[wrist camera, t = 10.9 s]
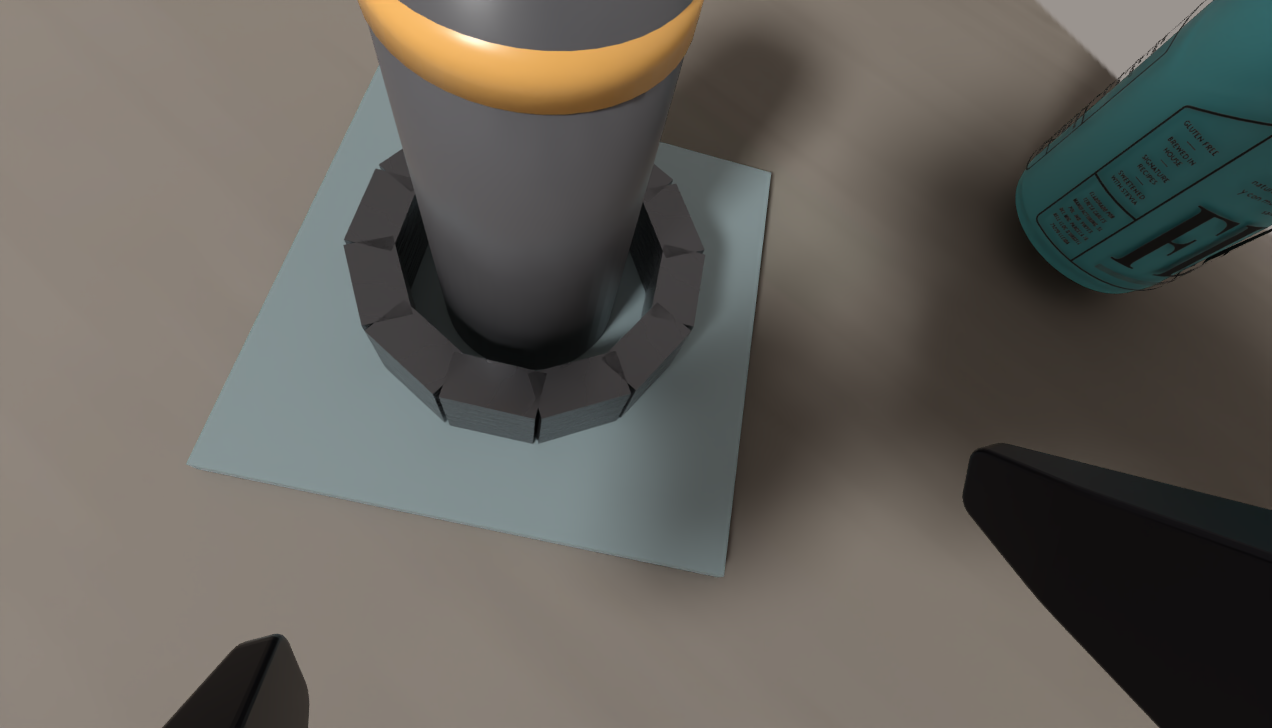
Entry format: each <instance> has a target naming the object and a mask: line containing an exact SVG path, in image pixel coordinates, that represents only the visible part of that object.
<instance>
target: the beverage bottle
mask: <svg viewBox="0 0 1272 728" xmlns="http://www.w3.org/2000/svg"><path fill="white" fill-rule="evenodd" d="M1201 4H1202V3H1201ZM1201 4H1200V5H1201ZM1196 10H1197V9H1196ZM1196 10H1194V11H1196ZM1193 13H1194V12H1193ZM1193 13H1192V14H1193ZM1188 19H1189V18H1188ZM1188 19H1187V20H1188ZM1184 20H1185V19H1184ZM1187 20H1186V21H1187ZM1186 21H1185V23H1186ZM1185 23H1184V24H1185ZM1184 24H1183V26H1184ZM1183 26H1182V27H1181V28H1180V30H1179V31H1178V32H1177V33H1176V34H1174V35H1173V36H1172V37H1171V38H1170V39H1169V40H1168V41H1166V42H1165V43H1164V44H1163V45H1162V46H1161V47H1160V48H1159V49H1158V50H1156V49H1155V48H1154V49H1155V50H1154V51H1152V52H1153V54H1151V56H1149V57H1148V58H1147V59H1146V60H1145V61H1144V62H1143V63H1142V64H1140V65H1139V66H1138V67H1137V68H1136V69H1135V70H1134V69H1133V67H1135V66H1133V67H1132V69H1133V70H1134V71H1133V70H1132V72H1131V71H1130V72H1131V73H1129V75H1128V76H1127V77H1126V78H1124V79H1123V80H1122V81H1121V82H1120V83H1119V81H1120V80H1117V82H1116V83H1117V84H1116V85H1115V87H1114V88H1113V89H1112V90H1111V91H1110V92H1109V93H1107V94H1106V92H1107V91H1106V92H1104V91H1105V90H1104V91H1103V92H1104V94H1103V96H1104V97H1102V98H1101V100H1099V101H1098V102H1097V103H1096V104H1095V105H1094V106H1092V107H1091V108H1090V109H1089V110H1088V111H1087V112H1086V110H1087V108H1088V106H1089V105H1088V106H1085V108H1086V110H1085V112H1084V114H1083V115H1082V116H1081V117H1080V118H1079V119H1078V117H1079V115H1080V113H1081V111H1082V110H1083V109H1085V108H1083V109H1082V110H1081V111H1080V113H1079V114H1076V115H1075V116H1074V117H1076V116H1077V118H1076V119H1077V120H1075V121H1076V122H1074V123H1073V124H1072V125H1071V126H1070V125H1068V127H1069V126H1070V127H1069V128H1068V127H1067V129H1066V130H1065V128H1066V127H1065V128H1064V129H1063V131H1062V134H1061V135H1060V136H1059V137H1057V138H1056V139H1053V140H1054V141H1053V140H1052V138H1053V137H1052V138H1050V139H1051V140H1050V139H1049V140H1050V141H1049V140H1048V142H1049V144H1048V146H1047V147H1046V148H1045V149H1044V150H1043V151H1041V152H1040V150H1041V148H1040V149H1039V152H1040V153H1039V152H1037V154H1038V153H1039V154H1038V155H1037V154H1036V155H1037V156H1036V157H1035V158H1034V159H1033V160H1032V161H1031V162H1030V163H1029V161H1030V159H1031V157H1032V156H1031V157H1030V159H1029V161H1028V163H1027V167H1026V170H1025V171H1024V172H1023V174H1022V176H1021V178H1020V180H1019V182H1018V185H1017V188H1016V208H1017V213H1018V217H1019V220H1020V223H1021V225H1022V227H1023V229H1024V231H1025V233H1026V235H1027V237H1028V238H1029V240H1030V241H1031V243H1032V244H1033V246H1034V247H1035V248H1036V250H1037V251H1038V252H1039V253H1040V254H1041V255H1042V256H1043V258H1044V259H1045V260H1046V261H1047V262H1048V263H1050V264H1051V265H1052V266H1053V267H1054V268H1055V269H1056V270H1058V271H1059V272H1060V273H1062V274H1063V275H1064V276H1066V277H1068V278H1069V279H1071V280H1072V281H1074V282H1076V283H1078V284H1080V285H1082V286H1084V287H1087V288H1089V289H1092V290H1095V291H1099V292H1103V293H1110V294H1120V293H1128V292H1132V291H1145V290H1140V289H1144V288H1148V287H1151V286H1153V285H1156V284H1158V285H1161V284H1165V283H1167V284H1168V282H1172V280H1171V281H1166V282H1161V281H1163V280H1165V279H1167V278H1169V277H1173V276H1176V277H1177V276H1180V277H1182V276H1183V275H1185V274H1187V273H1188V272H1189V273H1190V271H1188V272H1186V273H1183V274H1179V273H1180V272H1181V271H1183V270H1185V269H1187V268H1189V267H1190V266H1193V265H1195V264H1196V263H1198V262H1200V261H1202V260H1204V259H1206V258H1207V259H1206V260H1205V261H1204V263H1205V262H1207V261H1208V260H1211V259H1213V258H1215V257H1218V256H1220V255H1222V254H1224V253H1225V254H1227V253H1228V252H1229V251H1231V250H1233V249H1235V248H1237V247H1239V246H1241V245H1243V244H1245V243H1247V244H1248V242H1249V243H1250V241H1251V242H1252V240H1253V241H1254V239H1255V240H1256V238H1257V239H1258V237H1259V238H1260V236H1261V237H1262V235H1265V234H1267V233H1269V232H1271V231H1272V229H1270V230H1268V231H1265V232H1263V233H1261V234H1258V235H1256V236H1254V237H1252V238H1249V239H1247V240H1245V241H1243V242H1240V241H1242V240H1244V239H1246V238H1248V237H1250V236H1252V235H1253V234H1255V233H1257V232H1259V231H1261V230H1263V229H1266V228H1268V227H1269V226H1271V225H1272V0H1213V1H1212V2H1211V3H1210V4H1209V5H1207V6H1206V7H1205V8H1204V9H1203V10H1202V11H1201V12H1200V13H1198V14H1197V15H1196V16H1195V17H1194V18H1193V19H1192V20H1190V21H1189V22H1188V23H1187V24H1186V25H1185V26H1184V27H1183ZM1166 36H1167V35H1166ZM1166 36H1165V37H1166ZM1164 40H1165V38H1164ZM1159 42H1160V41H1159ZM1161 43H1162V42H1161ZM1156 45H1157V44H1156ZM1156 47H1157V46H1156ZM1148 52H1149V51H1148ZM1147 55H1148V54H1147ZM1142 58H1143V57H1142ZM1142 58H1140V59H1142ZM1138 60H1139V59H1138ZM1140 61H1141V60H1140ZM1140 61H1139V63H1140ZM1136 63H1137V62H1136ZM1123 74H1124V73H1123ZM1123 74H1122V75H1123ZM1122 75H1121V76H1122ZM1121 76H1120V77H1121ZM1114 82H1115V81H1114ZM1114 82H1113V83H1114ZM1113 83H1112V84H1113ZM1118 83H1119V84H1118ZM1112 84H1110V85H1111V86H1112ZM1110 88H1111V87H1110ZM1106 90H1108V87H1107V89H1106ZM1103 92H1102V93H1103ZM1099 95H1100V94H1099ZM1099 95H1098V96H1099ZM1095 99H1096V98H1095ZM1095 99H1094V100H1095ZM1094 100H1093V101H1094ZM1091 102H1092V101H1091ZM1091 102H1090V103H1091ZM1073 119H1074V118H1073ZM1073 119H1072V120H1073ZM1069 122H1070V121H1069ZM1069 122H1068V123H1069ZM1068 123H1067V124H1068ZM1071 123H1072V121H1071V122H1070V123H1069V124H1071ZM1067 124H1066V125H1064V126H1067ZM1064 126H1063V127H1064ZM1061 130H1062V129H1061ZM1061 130H1059V131H1058V132H1056V133H1060V132H1061ZM1064 130H1065V131H1064ZM1056 133H1055V134H1056ZM1055 134H1054V135H1055ZM1058 135H1059V134H1058ZM1058 135H1057V136H1058ZM1051 141H1053V142H1052V143H1051V144H1050V142H1051ZM1046 143H1047V141H1046ZM1043 145H1044V144H1043ZM1043 145H1042V146H1043ZM1040 147H1041V146H1040ZM1034 153H1035V152H1034ZM1034 153H1033V154H1034ZM1238 242H1240V243H1238ZM1236 243H1238V244H1236ZM1234 244H1236V245H1234ZM1232 245H1234V246H1232ZM1245 245H1246V244H1245ZM1230 246H1231V247H1230ZM1243 246H1244V245H1243ZM1228 247H1229V248H1228ZM1241 247H1242V246H1241ZM1226 248H1227V249H1226ZM1239 248H1240V247H1239ZM1224 249H1225V250H1224ZM1237 249H1238V248H1237ZM1235 250H1236V249H1235ZM1233 251H1234V250H1233ZM1231 252H1232V251H1231ZM1229 253H1230V252H1229ZM1225 254H1224V255H1225ZM1221 257H1222V256H1221ZM1219 258H1220V257H1219ZM1204 263H1203V264H1202V265H1204ZM1205 264H1206V263H1205ZM1202 265H1201V266H1202ZM1199 267H1200V266H1199ZM1197 268H1198V267H1197ZM1195 270H1196V268H1195ZM1193 271H1194V269H1193ZM1191 272H1192V270H1191ZM1177 273H1178V274H1179V275H1178V274H1177ZM1175 274H1177V275H1175ZM1181 275H1182V276H1181ZM1176 277H1175V278H1176ZM1180 277H1179V278H1180ZM1175 278H1174V279H1175ZM1177 279H1178V278H1177ZM1175 280H1176V279H1175ZM1173 281H1174V280H1173ZM1161 287H1162V286H1161ZM1158 288H1159V287H1158ZM1154 289H1156V288H1154ZM1147 290H1152V289H1147Z"/></svg>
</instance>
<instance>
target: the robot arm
mask: <svg viewBox="0 0 1272 728" xmlns="http://www.w3.org/2000/svg"><path fill="white" fill-rule="evenodd" d="M962 498H963V503H964V507H965V509H966V511H967V512H968V514H969V515H970V516H971V518H972V519H973V520H974V521H975V522H976V524H977V525H978V526H979V527H980V529H981V530H982V531H983V532H984V534H985V535H986V536H987V537H988V539H989V540H990V541H991V542H992V544H993V545H994V546H995V547H996V548H997V550H998V551H999V552H1000V553H1001V555H1002V556H1003V557H1004V558H1005V560H1006V561H1007V562H1008V563H1009V565H1010V566H1011V567H1012V568H1013V570H1014V571H1015V572H1016V573H1017V574H1018V576H1019V577H1020V578H1021V579H1022V581H1023V582H1024V583H1025V584H1026V586H1027V587H1028V588H1029V589H1030V590H1031V592H1032V593H1033V594H1034V595H1035V596H1036V598H1037V599H1038V600H1039V601H1040V602H1041V603H1042V605H1043V606H1044V607H1045V608H1046V609H1047V610H1048V611H1049V612H1050V613H1051V614H1052V615H1053V617H1054V618H1055V619H1056V620H1057V621H1058V622H1059V623H1060V624H1061V625H1062V626H1063V627H1064V628H1065V629H1066V630H1067V631H1068V632H1069V633H1070V634H1071V635H1072V637H1073V638H1074V639H1075V640H1076V641H1077V642H1078V643H1079V644H1080V645H1081V646H1082V647H1083V648H1084V649H1085V650H1086V651H1087V652H1088V653H1089V654H1090V655H1091V657H1092V658H1093V659H1094V660H1095V661H1096V662H1097V663H1098V664H1099V665H1100V666H1101V667H1102V668H1103V669H1104V670H1105V671H1106V672H1107V673H1108V674H1109V675H1110V676H1111V678H1112V679H1113V680H1114V681H1115V682H1116V683H1117V684H1118V685H1119V686H1120V687H1121V688H1122V689H1123V690H1124V691H1125V692H1126V693H1127V694H1128V695H1129V696H1130V697H1131V699H1132V700H1133V701H1134V702H1135V703H1136V704H1137V705H1138V706H1139V707H1140V708H1141V709H1142V710H1143V711H1144V712H1145V713H1146V714H1147V715H1148V716H1149V717H1150V718H1151V720H1152V721H1153V722H1154V723H1155V724H1156V725H1157V726H1158V727H1159V728H1272V510H1269V509H1265V508H1261V507H1257V506H1253V505H1249V504H1245V503H1241V502H1237V501H1233V500H1229V499H1225V498H1221V497H1217V496H1213V495H1209V494H1205V493H1201V492H1197V491H1193V490H1189V489H1185V488H1181V487H1177V486H1173V485H1169V484H1165V483H1161V482H1157V481H1153V480H1149V479H1145V478H1141V477H1137V476H1133V475H1129V474H1125V473H1121V472H1117V471H1113V470H1109V469H1105V468H1101V467H1097V466H1093V465H1089V464H1086V463H1082V462H1078V461H1074V460H1070V459H1066V458H1062V457H1058V456H1054V455H1050V454H1046V453H1042V452H1038V451H1034V450H1030V449H1026V448H1022V447H1018V446H1014V445H1010V444H1005V443H997V444H993V445H989V446H985V447H981V448H978V449H976V450H975V451H974V452H973V453H972V454H971V456H970V459H969V464H968V469H967V474H966V479H965V484H964V489H963V496H962ZM308 719H309V694H308V689H307V685H306V682H305V680H304V677H303V675H302V673H301V670H300V668H299V665H298V663H297V661H296V658H295V656H294V654H293V651H292V649H291V647H290V644H289V642H288V640H287V639H286V638H285V637H284V636H283V635H281V634H272V635H269V636H265V637H261V638H257V639H254V640H250V641H246V642H243V643H241V644H239V645H238V646H236V647H235V648H234V649H233V650H232V651H231V652H230V653H229V654H228V655H227V656H226V657H225V659H224V660H223V661H222V662H221V663H220V664H219V665H218V666H217V667H216V669H215V670H214V671H213V672H212V673H211V674H210V675H209V676H208V677H207V678H206V680H205V681H204V682H203V683H202V684H201V685H200V686H199V687H198V688H197V690H196V691H195V692H194V693H193V694H192V695H191V696H190V697H189V698H188V700H187V701H186V702H185V703H184V704H183V705H182V706H181V707H180V708H179V710H178V711H177V712H176V713H175V714H174V715H173V716H172V717H171V718H170V720H169V721H168V722H167V723H166V724H165V725H164V726H163V727H162V728H308Z"/></svg>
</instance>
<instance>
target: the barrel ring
mask: <svg viewBox="0 0 1272 728" xmlns="http://www.w3.org/2000/svg"><path fill="white" fill-rule="evenodd" d="M379 166H380V169H381V170H380V169H376V168H375V170H374V173H373V175H372V177H371V179H370V182H369V184H368V186H367V188H366V191H365V193H364V195H363V197H362V200H361V202H360V204H359V206H358V209H357V211H356V213H355V215H354V218H353V220H352V222H351V224H350V227H349V229H348V231H347V233H346V236H345V238H344V241H345V243H346V244H345V245H343V246H344V251H345V255H346V259H347V264H348V268H349V273H350V277H351V282H352V286H353V291H354V295H355V299H356V304H357V308H358V313H359V317H360V322H361V326H362V328H363V329H364V331H365V333H366V335H367V336H368V338H369V340H370V342H371V343H372V345H373V347H374V349H375V350H376V352H377V354H378V356H379V357H380V359H381V361H382V363H383V364H384V366H385V368H386V369H387V370H388V371H390V372H391V373H392V374H393V375H394V376H395V377H396V378H397V379H398V380H399V381H400V382H401V383H402V384H403V385H405V386H406V387H407V388H408V389H409V390H410V391H411V392H412V393H413V394H414V395H415V396H416V397H417V398H419V399H420V400H421V401H422V402H423V403H424V404H425V405H426V406H427V407H428V408H429V409H430V410H431V411H432V412H434V413H435V414H436V415H437V416H438V417H439V418H440V419H441V420H442V421H443V422H444V423H445V422H446V421H447V420H448V422H449V425H450V426H454V427H459V428H463V429H468V430H472V431H477V432H481V433H486V434H490V435H494V436H499V437H503V438H508V439H512V440H517V441H521V442H526V443H530V444H533V441H534V437H535V434H536V437H537V440H538V444H540V443H543V442H547V441H550V440H553V439H557V438H560V437H564V436H567V435H570V434H574V433H577V432H580V431H584V430H587V429H591V428H594V427H597V426H601V425H604V424H608V423H611V422H614V421H617V419H618V417H620V418H621V417H622V416H623V415H624V414H625V413H626V412H627V411H628V410H629V409H630V408H631V407H632V406H633V404H634V403H635V402H636V401H637V400H638V399H639V398H640V397H641V396H642V395H643V394H644V393H645V391H646V390H647V389H648V388H649V387H650V386H651V385H652V384H653V383H654V382H655V381H656V380H657V378H658V377H659V376H660V375H661V374H662V373H663V372H664V371H665V370H666V369H667V368H668V367H669V366H670V364H671V363H672V361H673V359H674V358H675V356H676V355H677V353H678V352H679V350H680V349H681V347H682V345H683V344H684V342H685V341H686V339H687V338H688V336H689V334H690V333H691V330H692V329H693V327H694V322H695V316H696V310H697V304H698V297H699V291H700V285H701V279H702V273H703V266H704V260H705V254H703V252H704V250H705V249H704V247H703V245H702V242H701V240H700V238H699V235H698V233H697V231H696V228H695V226H694V224H693V221H692V219H691V217H690V214H689V212H688V210H687V207H686V205H685V203H684V200H683V198H682V196H681V193H680V191H679V189H678V186H677V184H672V181H673V179H672V178H671V177H670V176H668V175H667V174H666V173H665V172H663V171H662V170H661V169H660V168H659V167H657V166H656V165H655V164H653V168H652V171H651V175H650V178H649V182H648V185H647V189H646V193H645V196H644V200H643V203H642V207H641V210H640V214H639V217H638V221H637V224H636V228H635V231H634V235H633V238H632V242H631V245H630V249H629V251H630V254H631V256H632V259H633V262H634V264H635V267H636V269H637V272H638V275H639V277H640V280H641V282H642V285H643V288H644V290H645V293H646V294H645V299H644V304H643V309H642V314H641V319H640V320H639V321H638V322H637V323H636V324H635V325H634V326H633V327H632V328H631V329H630V330H629V331H628V332H627V333H626V334H625V335H624V336H623V337H622V338H621V339H620V340H619V341H618V342H617V343H616V344H615V345H614V346H613V347H612V348H611V349H610V350H609V351H608V352H607V353H605V354H601V355H597V356H594V357H590V358H586V359H582V360H578V361H574V362H570V363H567V364H563V365H559V366H555V367H551V368H547V369H544V370H540V371H535V370H530V369H526V368H522V367H518V366H513V365H509V364H505V363H501V362H496V361H492V360H488V359H484V358H479V357H475V356H471V355H467V354H463V353H462V352H461V351H460V350H459V349H458V348H457V347H456V346H455V345H453V344H452V343H451V342H450V341H449V340H448V339H447V338H446V337H445V336H444V335H442V334H441V333H440V332H439V331H438V330H437V329H436V328H435V327H434V326H433V325H431V324H430V323H429V322H428V321H427V320H426V319H425V318H424V317H423V316H421V315H420V314H419V313H418V312H417V311H416V308H415V304H414V300H413V296H412V292H411V288H412V285H413V283H414V280H415V278H416V275H417V272H418V270H419V267H420V264H421V262H422V259H423V256H424V254H425V251H426V248H427V246H428V243H429V242H428V239H427V235H426V231H425V228H424V224H423V220H422V217H421V213H420V210H419V206H418V202H417V199H416V195H415V192H414V188H413V184H412V181H411V177H410V174H409V170H408V166H407V163H406V159H405V155H404V152H403V149H401V150H400V151H398V152H397V153H395V154H394V155H392V156H391V157H389V158H388V159H386V160H385V161H383V162H382V163H380V164H379Z"/></svg>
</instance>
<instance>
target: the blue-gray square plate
mask: <svg viewBox="0 0 1272 728" xmlns="http://www.w3.org/2000/svg"><path fill="white" fill-rule="evenodd" d="M401 149H403V148H402V145H401V141H400V137H399V134H398V130H397V127H396V123H395V119H394V116H393V112H392V109H391V105H390V101H389V98H388V94H387V90H386V87H385V83H384V80H383V76H382V72H381V69H380V65H379V66H378V68H377V70H376V73H375V75H374V77H373V79H372V81H371V83H370V85H369V87H368V89H367V91H366V93H365V95H364V97H363V99H362V101H361V104H360V106H359V108H358V110H357V112H356V114H355V116H354V118H353V120H352V122H351V124H350V126H349V128H348V130H347V132H346V135H345V137H344V139H343V141H342V143H341V145H340V147H339V149H338V151H337V153H336V155H335V157H334V159H333V161H332V163H331V166H330V168H329V170H328V172H327V174H326V176H325V178H324V180H323V182H322V184H321V186H320V188H319V190H318V192H317V195H316V197H315V199H314V201H313V203H312V205H311V207H310V209H309V211H308V213H307V215H306V217H305V219H304V221H303V223H302V226H301V228H300V230H299V232H298V234H297V236H296V238H295V240H294V242H293V244H292V246H291V248H290V250H289V252H288V254H287V257H286V259H285V261H284V263H283V265H282V267H281V269H280V271H279V273H278V275H277V277H276V279H275V281H274V283H273V285H272V288H271V290H270V292H269V294H268V296H267V298H266V300H265V302H264V304H263V306H262V308H261V310H260V312H259V314H258V316H257V319H256V321H255V323H254V325H253V327H252V329H251V331H250V333H249V335H248V337H247V339H246V341H245V343H244V345H243V348H242V350H241V352H240V354H239V356H238V358H237V360H236V362H235V364H234V366H233V368H232V370H231V372H230V374H229V376H228V379H227V381H226V383H225V385H224V387H223V389H222V391H221V393H220V395H219V397H218V399H217V401H216V403H215V405H214V407H213V410H212V412H211V414H210V416H209V418H208V420H207V422H206V424H205V426H204V428H203V430H202V432H201V434H200V436H199V438H198V441H197V443H196V445H195V447H194V449H193V451H192V453H191V455H190V457H189V459H188V461H187V463H186V464H187V465H189V466H192V467H194V468H197V469H200V470H205V471H210V472H214V473H219V474H224V475H229V476H234V477H238V478H243V479H248V480H253V481H258V482H263V483H267V484H272V485H277V486H282V487H287V488H291V489H296V490H301V491H306V492H311V493H315V494H320V495H325V496H330V497H335V498H339V499H344V500H349V501H354V502H359V503H363V504H368V505H373V506H378V507H383V508H387V509H392V510H397V511H402V512H407V513H411V514H416V515H421V516H426V517H431V518H435V519H440V520H445V521H450V522H455V523H459V524H464V525H469V526H474V527H479V528H483V529H488V530H493V531H498V532H503V533H507V534H512V535H517V536H522V537H527V538H532V539H536V540H541V541H546V542H551V543H556V544H560V545H565V546H570V547H575V548H580V549H584V550H589V551H594V552H599V553H604V554H608V555H613V556H618V557H623V558H628V559H632V560H637V561H642V562H647V563H652V564H656V565H661V566H666V567H671V568H676V569H680V570H685V571H690V572H695V573H700V574H704V575H709V576H714V577H722V576H724V571H725V562H726V553H727V545H728V536H729V528H730V519H731V511H732V502H733V494H734V485H735V477H736V468H737V460H738V451H739V443H740V434H741V426H742V417H743V408H744V400H745V391H746V383H747V374H748V366H749V357H750V349H751V340H752V332H753V323H754V315H755V306H756V298H757V289H758V281H759V272H760V263H761V255H762V246H763V238H764V229H765V221H766V212H767V204H768V195H769V187H770V178H771V172H767V171H764V170H760V169H756V168H753V167H749V166H746V165H742V164H738V163H735V162H731V161H728V160H724V159H720V158H717V157H713V156H710V155H706V154H702V153H699V152H695V151H692V150H688V149H684V148H681V147H677V146H674V145H670V144H667V143H663V142H660V143H659V147H658V150H657V154H656V157H655V161H654V164H655V165H656V166H657V167H659V168H660V169H661V170H662V171H663V172H665V173H666V174H667V175H668V176H670V177H671V178H672V179H673V181H672V184H677V186H678V189H679V191H680V193H681V196H682V198H683V200H684V203H685V205H686V207H687V210H688V212H689V214H690V217H691V219H692V221H693V224H694V226H695V228H696V231H697V233H698V235H699V238H700V240H701V242H702V245H703V247H704V249H705V250H704V252H703V254H705V260H704V266H703V273H702V279H701V285H700V291H699V297H698V304H697V310H696V316H695V322H694V327H693V329H692V330H691V333H690V334H689V336H688V338H687V339H686V341H685V342H684V344H683V345H682V347H681V349H680V350H679V352H678V353H677V355H676V356H675V358H674V359H673V361H672V363H671V364H670V366H669V367H668V368H667V369H666V370H665V371H664V372H663V373H662V374H661V375H660V376H659V377H658V378H657V380H656V381H655V382H654V383H653V384H652V385H651V386H650V387H649V388H648V389H647V390H646V391H645V393H644V394H643V395H642V396H641V397H640V398H639V399H638V400H637V401H636V402H635V403H634V404H633V406H632V407H631V408H630V409H629V410H628V411H627V412H626V413H625V414H624V415H623V416H622V417H621V418H620V417H618V419H617V421H614V422H611V423H608V424H604V425H601V426H597V427H594V428H591V429H587V430H584V431H580V432H577V433H574V434H570V435H567V436H564V437H560V438H557V439H553V440H550V441H547V442H543V443H540V444H538V440H537V437H536V434H535V437H534V441H533V444H530V443H526V442H521V441H517V440H512V439H508V438H503V437H499V436H494V435H490V434H486V433H481V432H477V431H472V430H468V429H463V428H459V427H454V426H450V425H449V422H448V420H447V421H446V422H445V423H444V422H443V421H442V420H441V419H440V418H439V417H438V416H437V415H436V414H435V413H434V412H432V411H431V410H430V409H429V408H428V407H427V406H426V405H425V404H424V403H423V402H422V401H421V400H420V399H419V398H417V397H416V396H415V395H414V394H413V393H412V392H411V391H410V390H409V389H408V388H407V387H406V386H405V385H403V384H402V383H401V382H400V381H399V380H398V379H397V378H396V377H395V376H394V375H393V374H392V373H391V372H390V371H388V370H387V369H386V368H385V366H384V364H383V363H382V361H381V359H380V357H379V356H378V354H377V352H376V350H375V349H374V347H373V345H372V343H371V342H370V340H369V338H368V336H367V335H366V333H365V331H364V329H363V328H362V326H361V322H360V317H359V313H358V308H357V304H356V299H355V295H354V291H353V286H352V282H351V277H350V273H349V268H348V264H347V259H346V255H345V251H344V246H343V245H345V244H346V243H345V241H344V238H345V236H346V233H347V231H348V229H349V227H350V224H351V222H352V220H353V218H354V215H355V213H356V211H357V209H358V206H359V204H360V202H361V200H362V197H363V195H364V193H365V191H366V188H367V186H368V184H369V182H370V179H371V177H372V175H373V173H374V170H375V168H376V169H380V166H379V164H380V163H382V162H383V161H385V160H386V159H388V158H389V157H391V156H392V155H394V154H395V153H397V152H398V151H400V150H401ZM380 170H381V169H380ZM411 292H412V296H413V300H414V304H415V308H416V311H417V312H418V313H419V314H420V315H421V316H423V317H424V318H425V319H426V320H427V321H428V322H429V323H430V324H431V325H433V326H434V327H435V328H436V329H437V330H438V331H439V332H440V333H441V334H442V335H444V336H445V337H446V338H447V339H448V340H449V341H450V342H451V343H452V344H453V345H455V346H456V347H457V348H458V349H459V350H460V351H461V352H462V353H463V354H467V355H471V356H475V357H479V358H484V359H486V358H485V357H483V356H481V355H480V354H478V353H477V352H476V351H474V350H473V349H472V348H470V347H469V346H468V345H467V344H466V343H465V342H464V341H463V339H462V338H461V337H460V335H459V334H458V333H457V331H456V329H455V328H454V326H453V324H452V322H451V319H450V317H449V314H448V311H447V307H446V304H445V300H444V296H443V293H442V289H441V285H440V282H439V278H438V275H437V271H436V267H435V264H434V260H433V257H432V253H431V249H430V246H429V243H428V246H427V248H426V251H425V254H424V256H423V259H422V262H421V264H420V267H419V270H418V272H417V275H416V278H415V280H414V283H413V285H412V288H411ZM645 294H646V293H645V290H644V288H643V285H642V282H641V280H640V277H639V275H638V272H637V269H636V267H635V264H634V262H633V259H632V256H631V254H630V251H629V252H628V256H627V259H626V263H625V266H624V270H623V273H622V277H621V280H620V284H619V287H618V291H617V294H616V298H615V302H614V305H613V309H612V312H611V316H610V319H609V322H608V324H607V326H606V328H605V330H604V332H603V333H602V335H601V337H600V338H599V339H598V340H597V341H596V343H595V344H594V345H593V346H592V347H591V348H590V349H588V350H587V351H586V352H585V353H583V354H582V355H580V356H579V357H578V358H576V359H574V360H572V361H570V362H574V361H578V360H582V359H586V358H590V357H594V356H597V355H601V354H605V353H607V352H608V351H609V350H610V349H611V348H612V347H613V346H614V345H615V344H616V343H617V342H618V341H619V340H620V339H621V338H622V337H623V336H624V335H625V334H626V333H627V332H628V331H629V330H630V329H631V328H632V327H633V326H634V325H635V324H636V323H637V322H638V321H639V320H640V319H641V314H642V309H643V304H644V299H645ZM570 362H568V363H570ZM565 364H567V363H565ZM562 365H563V364H562ZM540 370H544V369H539V370H535V371H540Z"/></svg>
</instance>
